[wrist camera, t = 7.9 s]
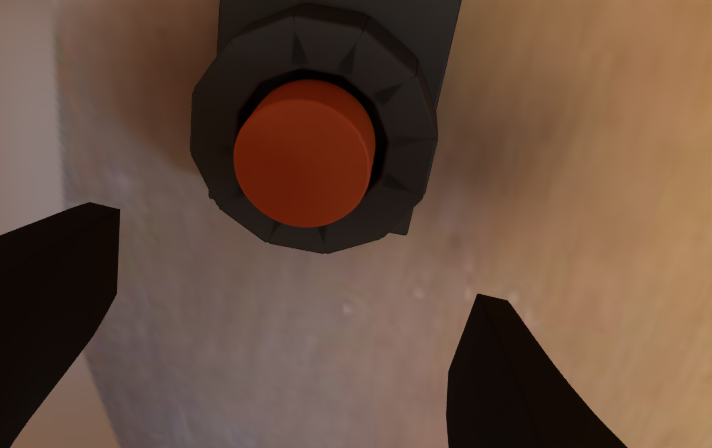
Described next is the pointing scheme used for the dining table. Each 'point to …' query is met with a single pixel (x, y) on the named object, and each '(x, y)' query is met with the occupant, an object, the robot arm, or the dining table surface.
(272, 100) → the button
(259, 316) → the dining table surface
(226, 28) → the button block
